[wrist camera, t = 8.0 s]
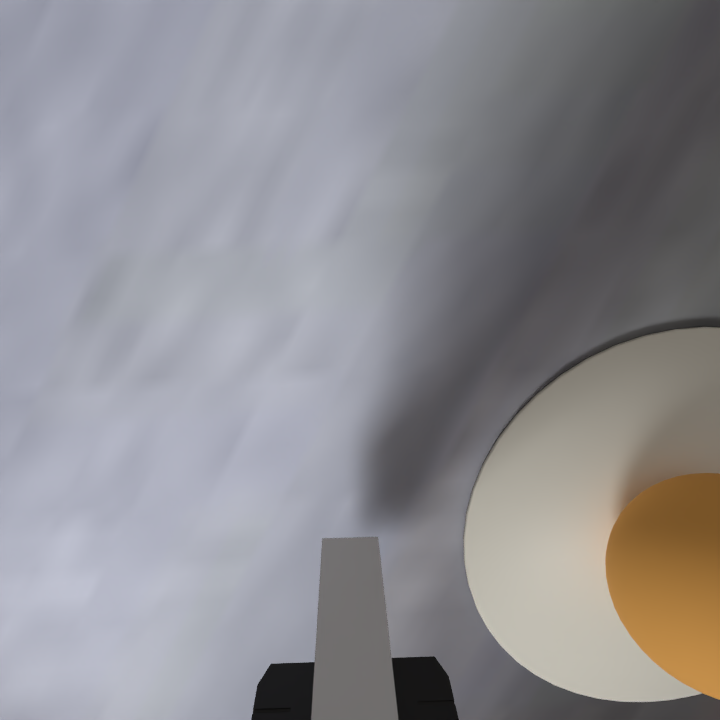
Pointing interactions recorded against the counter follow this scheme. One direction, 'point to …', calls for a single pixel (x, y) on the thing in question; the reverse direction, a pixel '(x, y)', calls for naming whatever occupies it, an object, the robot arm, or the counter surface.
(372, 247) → the counter surface
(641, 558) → the ball
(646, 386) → the disc
